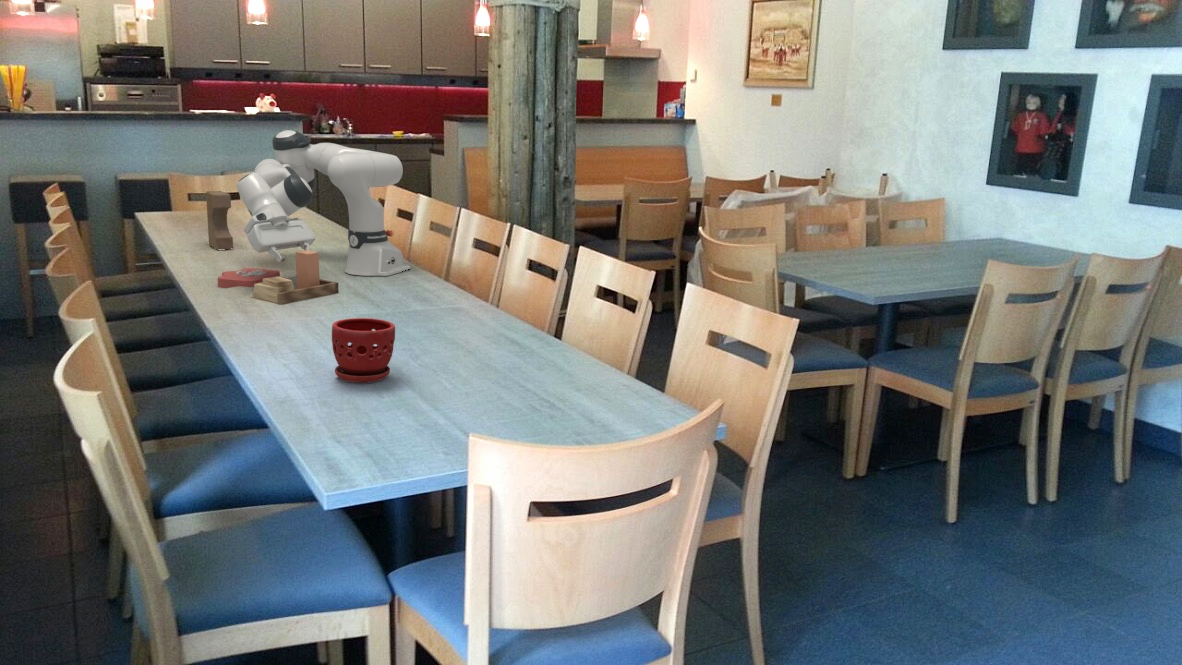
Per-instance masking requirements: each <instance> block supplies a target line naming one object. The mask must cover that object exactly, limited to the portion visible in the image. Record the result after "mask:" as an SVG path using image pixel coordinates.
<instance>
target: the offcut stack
mask: <svg viewBox="0 0 1182 665" xmlns="http://www.w3.org/2000/svg"><path fill="white" fill-rule="evenodd" d="M253 288H254V289H253V292H252V293H253V294H252V295H253V296H252V297H254V298H258V299H257V300H259V299H262V300H261V301H263V300H266V301H265V302H267V301H270V302H269V303H271V302H275V303H278V299H277V293H281V292H287V291H292V290H294V289H295V284H293V280H291V279H288V278H284V277H281V276H280V277H271V278H263V282H262V283H257V284H254V287H253ZM254 298H253V299H254ZM275 303H274V304H275Z"/></svg>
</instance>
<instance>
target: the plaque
mask: <svg viewBox="0 0 1182 665" xmlns="http://www.w3.org/2000/svg"><path fill="white" fill-rule="evenodd" d="M280 272H281V271H280V270H278V269H277V270H276V269H265V268H257V267H256V268H254V267H246V268H242V269H238V270H229V271H222V272H221V275H220V276H218V277H217V287H218V288H220V287H221V289H231V288H235V287H245V288H247V287H248V288H250V287H251V288H254V284H257V283H262V282H263V278H271V277H281V273H280Z"/></svg>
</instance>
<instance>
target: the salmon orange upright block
mask: <svg viewBox="0 0 1182 665" xmlns="http://www.w3.org/2000/svg"><path fill="white" fill-rule="evenodd" d="M319 253H320V252H318V251H312V250H309V251H308V250H305V251H304V250H300V251H296V252H295V264H296V265H295V266H296V288H297V289H302V288H308V287H313V286H318V285H320V282H319V279H320V257H319V256H320V254H319Z"/></svg>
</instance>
